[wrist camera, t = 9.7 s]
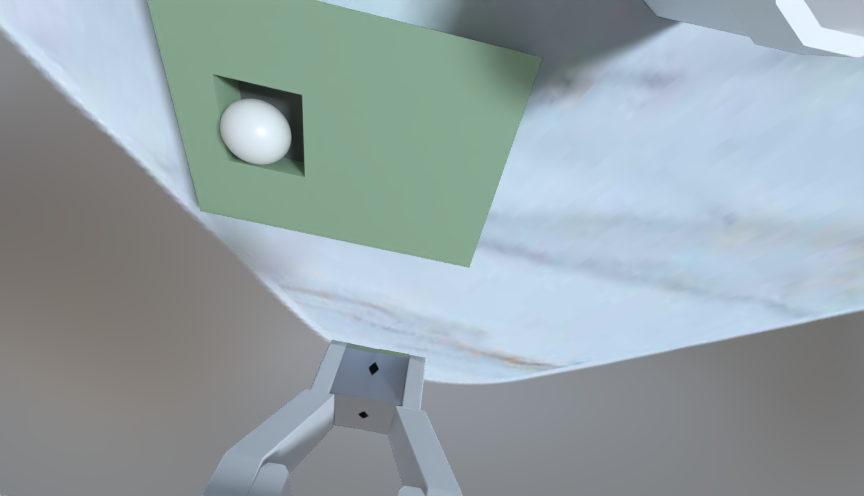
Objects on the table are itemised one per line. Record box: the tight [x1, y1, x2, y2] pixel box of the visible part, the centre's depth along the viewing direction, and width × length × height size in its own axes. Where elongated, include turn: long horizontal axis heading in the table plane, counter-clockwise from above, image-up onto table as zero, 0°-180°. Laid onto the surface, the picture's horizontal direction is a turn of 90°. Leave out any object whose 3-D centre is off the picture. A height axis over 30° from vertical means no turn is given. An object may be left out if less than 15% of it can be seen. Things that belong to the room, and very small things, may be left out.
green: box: [147, 0, 543, 267], centre depth 26 cm, size 18×26×4 cm
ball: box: [220, 98, 291, 165], centre depth 25 cm, size 5×5×5 cm
